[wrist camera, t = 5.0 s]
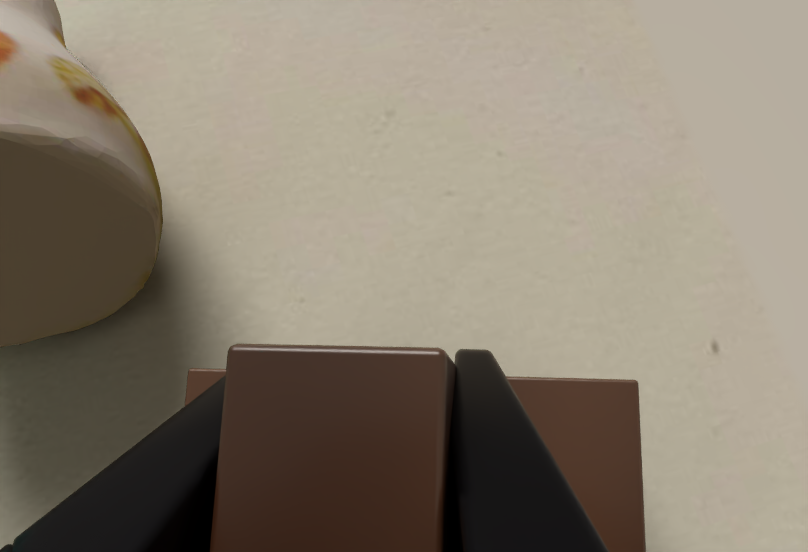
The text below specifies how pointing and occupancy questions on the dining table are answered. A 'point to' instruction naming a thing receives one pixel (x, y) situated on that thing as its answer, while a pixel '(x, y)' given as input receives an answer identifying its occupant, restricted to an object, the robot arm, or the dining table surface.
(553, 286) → the dining table surface
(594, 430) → the brown stepped block
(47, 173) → the flowered bud vase
